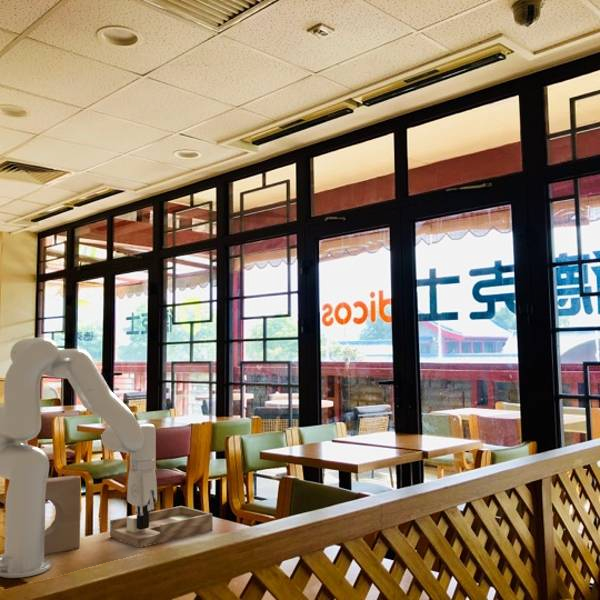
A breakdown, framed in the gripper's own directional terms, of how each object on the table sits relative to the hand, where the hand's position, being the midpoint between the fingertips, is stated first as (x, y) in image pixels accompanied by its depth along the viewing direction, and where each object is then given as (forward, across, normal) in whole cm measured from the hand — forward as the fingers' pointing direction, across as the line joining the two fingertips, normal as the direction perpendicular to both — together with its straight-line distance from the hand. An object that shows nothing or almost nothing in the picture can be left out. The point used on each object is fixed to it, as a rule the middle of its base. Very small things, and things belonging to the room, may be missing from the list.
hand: (142, 528), depth 193 cm
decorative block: (+4, -10, -21) cm, 24 cm away
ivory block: (+1, -4, 0) cm, 4 cm away
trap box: (+4, -3, +9) cm, 10 cm away
